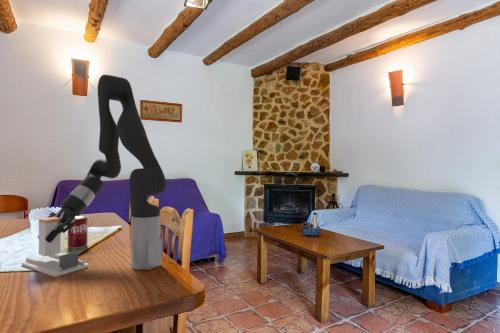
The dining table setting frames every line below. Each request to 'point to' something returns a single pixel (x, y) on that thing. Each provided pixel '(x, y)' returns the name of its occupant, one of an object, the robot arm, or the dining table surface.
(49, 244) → the block
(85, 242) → the soda can
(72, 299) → the dining table surface
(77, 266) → the rail board
